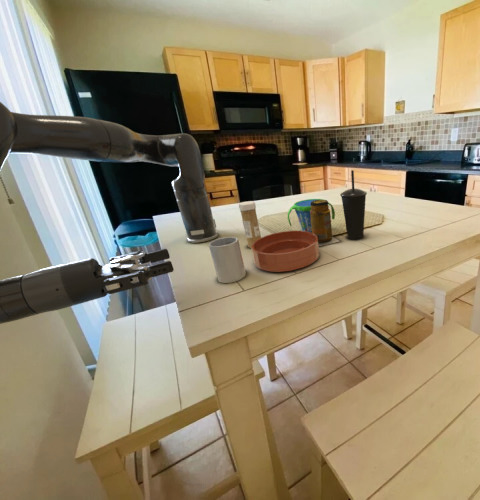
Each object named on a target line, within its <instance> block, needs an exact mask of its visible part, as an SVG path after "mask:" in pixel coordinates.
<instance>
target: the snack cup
mask: <svg viewBox="0 0 480 500" xmlns="http://www.w3.org/2000/svg"><path fill="white" fill-rule="evenodd" d="M314 200H324V199H322V198H307V199H303V200H299V201H296V202H294V203H293V205H292V206H291V207H290V208H289V209H288V211H287V222H288V224H289V226H290V227H292V223H291V219H290V214H291V213H292V211H295V214H296V216H297V218H298V223H299V225H300V229H301V230H300V231H307V232H311V233H312V227H311V217H310V211H311V202H312V201H314ZM328 206H329V207H330V208H331V210H330V211H331V219H332V220H335V218H336V212H335V208H334V206H333V204H331V203H330V202H329V201H328Z"/></svg>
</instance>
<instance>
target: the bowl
mask: <svg viewBox="0 0 480 500" xmlns="http://www.w3.org/2000/svg"><path fill="white" fill-rule="evenodd" d="M303 247H304V249H302V248H303ZM250 249H251V252H252V258H253V262H254V265H255V267H257V268H258V269H259V270H263V271H266V272H275V273H280V272H281V273H282V272H292V271H295V270H299V269H302V268H305V267H307V266H310V265H311V264H313V263H314V262H315V261H317V260H318V259H319V257H320V246H319V245H318V237H317V236H316V235H315V234H314V233H311V232H307V231H302V230H286V231H285V230H284V231H279V232H278V231H277V232H273V233H269V234H267V235H264V236H261V238H259V239H258V240H256V241H255V242H253V244H252V246H251V248H250Z"/></svg>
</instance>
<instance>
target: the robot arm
mask: <svg viewBox="0 0 480 500" xmlns="http://www.w3.org/2000/svg"><path fill="white" fill-rule="evenodd" d="M9 154H30V155H31V154H32V155H43V156H50V157H57V158H65V159H73V160H82V161H91V162H104V163H138V162H143V163H152V164H158V165H162V166H167V167H173V168H174V167H177V168H179V175H178V176H177V177H176V178H174V179H173V180H172V181H171V187H172V189H173V192H174V193H173V194H174V196H175V199H176V203H177V206H178V210H179V212H180V213H179V214H180V217H181V220H182V223H183V226H184V229H185V233H186V234H185V235H186V236H187V241H188V243H190V244H199V243H205V242H209V241H213V240H215V239H217V238H218V236H219V235H218V231H217V223H216V220H215V219H214V215H213V213H212V208H211V203H210V199H209V195H208V191H207V189H206V184H205V178H206V176H205V169H204V168H205V167H204V164H203V158H202V153H201V149H200V147H199V144H198V142H197V140H196V139H195V137H193V135H191V134H188V133H173V134H162V135H153V134H143V133H138V132H136V131H134V130H132V129H130V128H129V127H126V126H124V125H122V124H119V123H117V122H112V121H107V120H103V119H97V118H92V117H88V116H87V117H86V116H76V115H75V116H73V115H55V114H54V115H52V114H51V115H50V114H27V113H20V112H15V111H10V109H9V108H8V107H7V106H6V105H5V104H4V103H2V102H1V101H0V171H1V170H2V168H3V166H4V164H5V162H6V160H7V158H8V156H9ZM170 257H171V256H170V253H169V250H168V249H167V248H162V249H158V250H154V251H149V252H147V251H144V250H137V251H132V252H129V253H125V254H121V255H117V256H112V257H109V258H108V260H109V263H107V264H104V265H101V264H100V263H99V261H98V260H97V259H95V258H94V257H93V258H92V257H91V258H86V259H82V260H76V261H73V262H72V261H71V262H68V263H63V264H58V265H55V266H49V267H46V268H41V269H38V270H35V271H33V272H29V273H26V274H21V275H17V276H12V277H8V278H4V279H0V325H3V324H7V323H11V322H12V323H13V322H14V321H15V322H16V321H18V320H23V319H26V318H30V317H33V316H36V315H40V314H44V313H49V312H55V311H60V310H63V309H67V308H70V307H74V306H77V305H81V304H85V303H88V302H92V301H95V300H97V299H98V300H99V299H102V298H106V297H107V296H108V295H113V294H117V293H121V292H125V291H128V290H132V289H136V288H139V287H143V286H147V285H148V284H149V281H151V280H152V279H153V278H155V277H156V278H157V277H160V276H162V275H167V274H170V273H173V272H174V266H173V263H172V261H171V260H169V259H170ZM165 260H166V261H165ZM157 262H158V263H157ZM153 263H154V264H153ZM149 264H150V265H149Z"/></svg>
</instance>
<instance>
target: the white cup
mask: <svg viewBox="0 0 480 500" xmlns="http://www.w3.org/2000/svg"><path fill="white" fill-rule="evenodd" d="M208 246H209V250H210V255H211V258H212V262H213V266H214V270H215V273H216V277H217V281H218V282H220V283H222V284H231V283H234V282H238V281H240V280H242V279H243V278H245V277H246V274H247V273H246V268H245V263H244V259H243V253H242V250H241V245H240V241H239V238H238V237H237V236H224V237H223V236H222V237H219V238H215V239H212V240H210V242H209V243H208Z"/></svg>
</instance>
